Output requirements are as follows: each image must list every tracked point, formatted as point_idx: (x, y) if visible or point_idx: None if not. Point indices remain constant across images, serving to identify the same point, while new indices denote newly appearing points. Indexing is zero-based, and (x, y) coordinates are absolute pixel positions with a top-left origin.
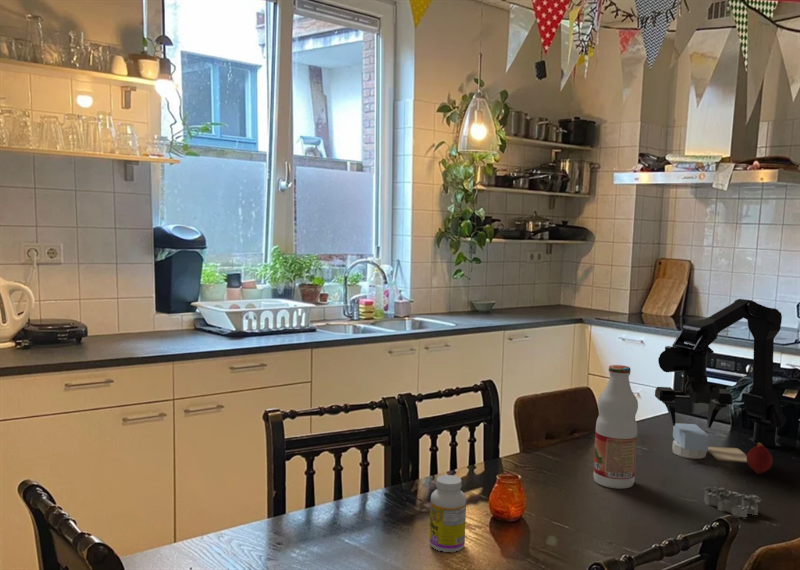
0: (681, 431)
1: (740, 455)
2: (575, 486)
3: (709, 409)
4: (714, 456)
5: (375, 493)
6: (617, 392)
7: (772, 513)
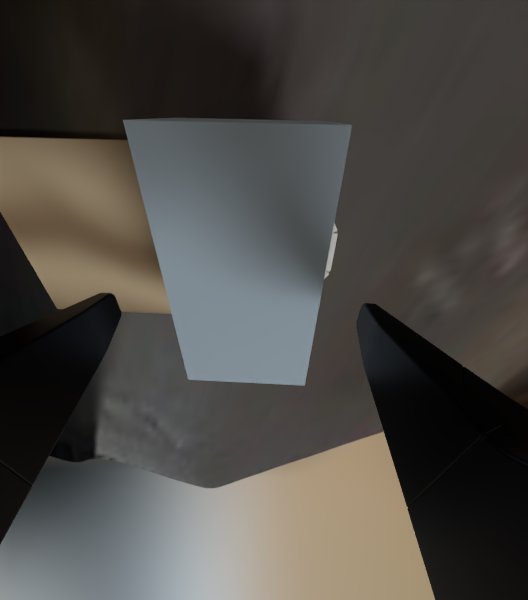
0: (329, 244)
1: (34, 224)
2: None
3: (21, 453)
4: None
5: None
6: None
7: None
